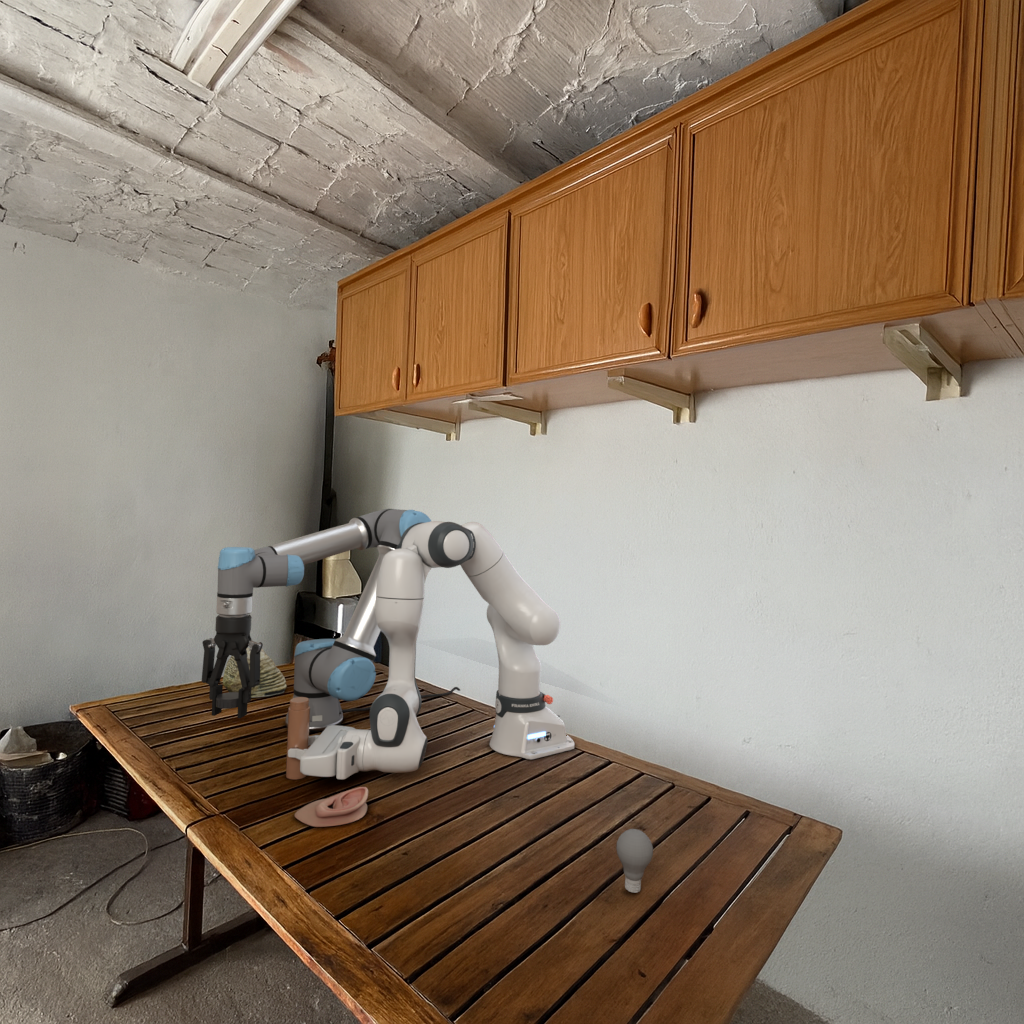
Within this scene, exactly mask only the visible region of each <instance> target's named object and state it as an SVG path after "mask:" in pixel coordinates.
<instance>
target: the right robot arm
mask: <svg viewBox="0 0 1024 1024" xmlns="http://www.w3.org/2000/svg"><path fill="white" fill-rule="evenodd" d="M458 566H460V567H461V569H462V571H463V573H465V575H466V577H467V578H468V579H469V581H470V583H471V584H472V585H473V587H474V588H475V590H476V591H477V592H478V594H479V595H480V597H481V598H482V599H483V600H484V601H485V602H487V604H488V606H487V608H486V619H487V622H488V624H489V626H490V627H491V630H492V632H493V637H494V641H495V647H496V651H497V659H498V683H497V690H496V694H495V704H494V707H495V720H494V725H493V729H492V734H491V737H490V741H489V747H490V748H491V750H493V751H495V752H496V753H499V754H501V755H502V754H503V755H505V756H506V755H507V756H512V757H519V758H523V759H525V760H536V759H539V758H543V757H548V756H552V755H555V754H559V753H560V754H561V753H565V752H567V751H572V750H574V749H575V748H576V746H575V741H574V740H573V738H572V737H571V736H569V735H568V734H567V729H566V724H565V723H564V721H563V719H562V718H561V715H559V714H556V713H555V712H554V711H553V710H551V708H549V707H548V706H546V704H547V705H552V704H553V702H554V698H553V697H552V696H551V695H550V694H545V693H544V692H543V691H541V682H542V681H541V677H542V663H541V660H540V658H539V657H538V655H537V652H536V649H535V646H549V645H550V644H552V643H553V642H554V641H556V640H557V638H558V637H559V634H560V632H561V627H562V624H561V623H562V622H561V621H562V620H561V617H560V616H559V615H560V614H558V612H557V611H556V610H555V609H554V608H552V607H551V606H550V605H549V604H548V603H546V601H544V599H542V598H541V596H540V595H539V594H538V592H536V590H535V589H533V588H532V587H531V585H529V583H528V582H527V581H525V579H524V578H523V577H522V576H521V575H520V573H519V572H518V571H517V569H516V568H515V567H514V565H513V563H512V562H511V561H510V559H509V558H508V556H507V555H506V553H505V551H504V550H503V549H502V546H501V545H500V544H499V542H498V541H497V540H496V539H495V538H494V536H493V535H492V534H491V533H490V532H489V530H487V529H486V527H485V526H483V524H481V523H479V522H477V521H469V522H465V523H462V525H461V524H459V523H456V522H453V521H442V520H441V521H440V520H431V522H426V523H423V522H422V523H417V524H414V525H412V526H410V527H409V528H407V529H406V531H405V532H404V533H403V535H402V537H401V539H400V543H399V544H398V546H397V548H396V549H394V550H392V551H390V552H388V553H387V554H385V556H384V557H383V559H382V563H381V566H380V570H379V575H378V580H377V588H376V599H375V613H376V621H377V626H378V627H379V629H380V630H381V631H380V632H381V633H382V634H384V636H385V637H386V640H387V642H388V646H389V656H388V657H389V658H388V661H389V662H388V679H387V682H386V685H385V687H384V689H383V690H382V692H381V693H380V694H379V695H378V696H377V697H376V698H375V699H374V701H373V702H372V704H371V706H370V707H371V709H370V710H369V726H370V729H360V728H359V729H358V728H355V727H352V726H348V725H347V726H346V725H339V726H338V725H331V726H327V727H326V729H325V730H324V731H321V733H320V734H314V735H309V748H308V749H304V750H302V749H298V747H291V748H290V749H289V750H288V757H293V758H297V759H299V760H300V772H301V773H302V774H304V775H307V776H310V777H321V778H330V777H331V778H332V777H336V779H337V780H346V779H348V778H349V777H350V776H352V775H355V774H357V773H359V772H371V771H379V772H383V773H387V774H388V773H392V774H393V773H394V774H397V773H399V774H400V773H402V774H403V773H411V772H416V771H417V770H419V769H420V768H421V766H422V765H423V762H424V759H425V757H426V753H427V750H428V749H427V748H428V743H429V742H428V737H427V735H426V734H425V733H424V732H423V729H422V727H421V726H420V723H419V721H418V718H417V716H418V715H419V713H420V711H421V708H422V704H423V703H422V700H423V699H422V698H421V695H422V694H421V691H420V690H419V687H418V684H417V680H416V657H417V641H418V636H419V632H420V628H421V623H422V620H423V615H424V614H423V613H424V607H425V589H426V587H425V586H426V585H425V584H426V579H427V577H428V575H429V572H430V571H431V570H432V569H437V568H444V569H451V568H456V567H458ZM566 735H567V736H566Z"/></svg>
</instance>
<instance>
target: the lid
mask: <svg viewBox="0 0 1024 1024" xmlns="http://www.w3.org/2000/svg"><path fill="white" fill-rule="evenodd" d="M238 694H239V693H238V692H229V691H228V692H222V694H219V695H218V696H217V698H216V707H218V708H222V709H225V710H227V709H228V710H231V709H236V708H238Z"/></svg>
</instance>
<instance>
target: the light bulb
mask: <svg viewBox="0 0 1024 1024" xmlns="http://www.w3.org/2000/svg"><path fill="white" fill-rule="evenodd" d="M615 849H616V854H617V857H618V859H619V861H620V863H621V865H622V867H623V873H624V874H623V875H624V876H625V878H624V888H625V890H627V891H628V892H630V893H634V894H635V893H639V892H640V891H641V889H642V887H641V886H642V879H643V877H644V875H645V871H646V868H647V867H648V866H649V864H650V863H651V861H652V859H653V855H654V847H653V843H652V841H651V838H649V836H648V835H647V834H646V833H645V832H643V831H642V830H641V829H636V828H629V829H627V830H625V831H623V832H622V833H621V834H620V835H619V837H618V839H617V841H616V847H615Z"/></svg>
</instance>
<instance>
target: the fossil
mask: <svg viewBox="0 0 1024 1024" xmlns="http://www.w3.org/2000/svg"><path fill="white" fill-rule="evenodd" d="M249 649H250V647H247V649H246V650H247V655H248V656H247V661H248V665H249V670H250V652H251V651H249ZM222 676H223V677H222V684H223V687H224V688H225V690H226V691H228V692H238V693H239V689H240V688H242V685H241V680H240V676H239V671H238V667H237V662H236V661H235V659H234V656H231V655H230V656H229V658H228V659H227V661H226V664H225V667H224V671H223V674H222ZM287 687H288V686H287V680H286V678H285V676H284V674H283V673H282V672H281V669H279V668H278V667H277V665H276V663H275V662H274V660H273V659H272V658H271V657H270V656H269V655H268V654H267V653H266V652H265V650H264V649H263V648H262V649H261V652H260V684H259V685H257V686H255V687H252V689H251V699H252V698H264V697H271V696H275V695H281V694H284V693H285V691H286V689H287Z"/></svg>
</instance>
